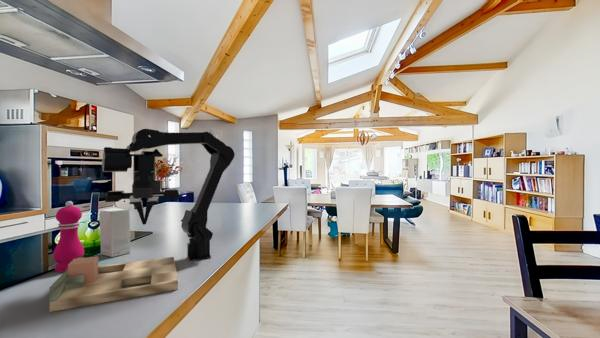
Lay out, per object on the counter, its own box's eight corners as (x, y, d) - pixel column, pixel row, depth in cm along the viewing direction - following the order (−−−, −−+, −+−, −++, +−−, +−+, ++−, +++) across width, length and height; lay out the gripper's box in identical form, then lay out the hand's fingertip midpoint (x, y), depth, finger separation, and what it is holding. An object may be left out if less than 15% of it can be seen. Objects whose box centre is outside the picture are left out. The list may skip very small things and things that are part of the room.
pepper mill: (58, 274, 78) (58, 203, 78) (48, 270, 82) (49, 201, 82) (88, 267, 84) (88, 200, 84) (78, 263, 88) (78, 199, 88)
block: (98, 275, 72) (98, 256, 72) (94, 282, 67) (94, 261, 67) (73, 279, 69) (73, 258, 69) (67, 286, 65) (67, 264, 65)
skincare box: (130, 253, 99) (131, 209, 99) (110, 258, 93) (110, 211, 93) (119, 249, 103) (119, 207, 103) (98, 254, 98) (98, 209, 98)
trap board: (173, 263, 87) (173, 247, 87) (177, 289, 68) (177, 268, 68) (77, 276, 77) (77, 258, 77) (49, 311, 57) (49, 287, 57)
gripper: (101, 171, 72) (101, 232, 72) (180, 171, 80) (180, 226, 80) (108, 172, 82) (108, 225, 82) (178, 171, 90) (177, 220, 90)
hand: (144, 224), depth 83 cm, fingers closed
